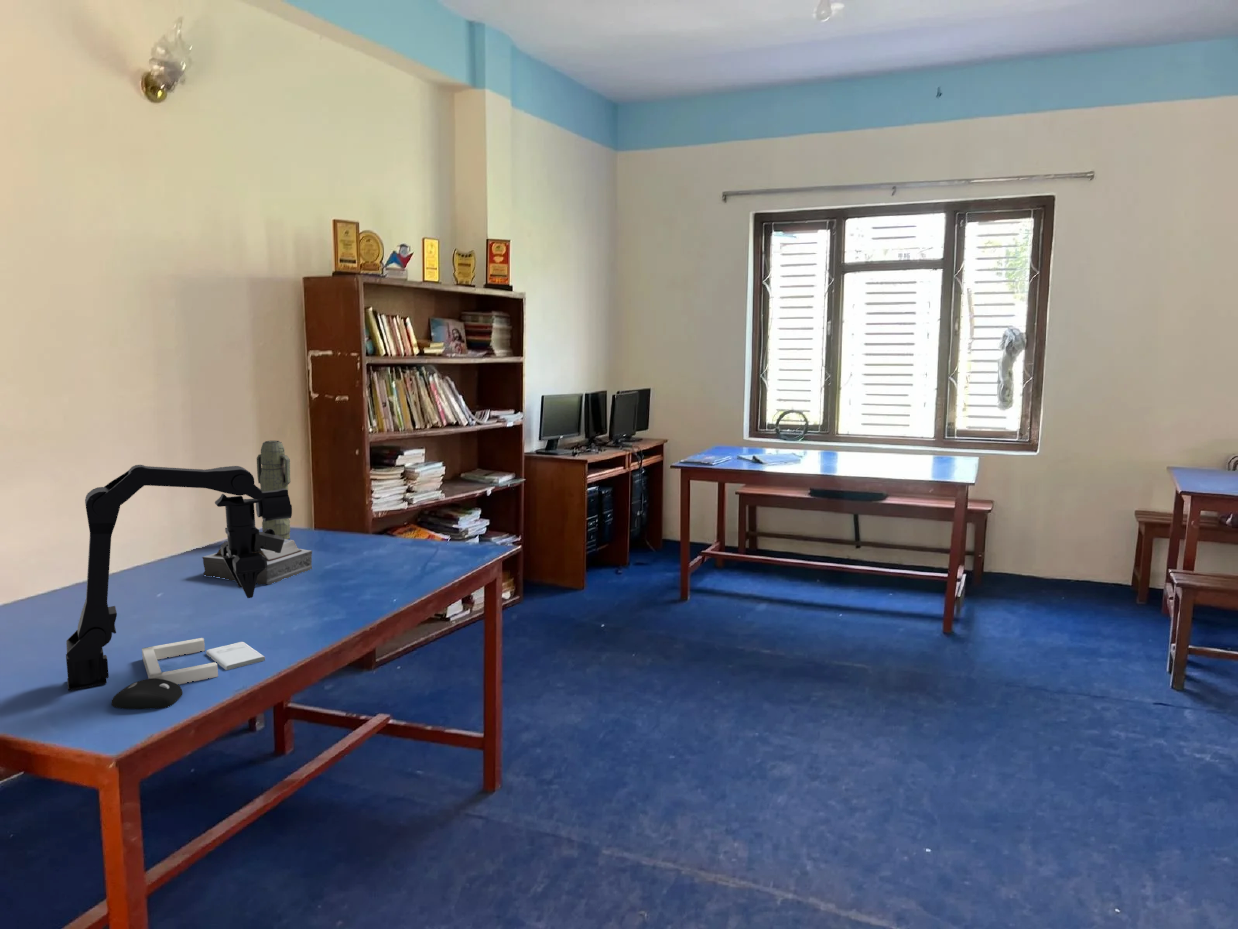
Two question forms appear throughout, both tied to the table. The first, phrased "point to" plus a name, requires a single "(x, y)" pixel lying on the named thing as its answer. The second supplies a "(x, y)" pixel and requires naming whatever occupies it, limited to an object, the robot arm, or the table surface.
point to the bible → (277, 564)
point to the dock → (178, 649)
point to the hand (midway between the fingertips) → (245, 592)
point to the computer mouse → (148, 694)
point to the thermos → (274, 479)
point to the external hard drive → (235, 655)
